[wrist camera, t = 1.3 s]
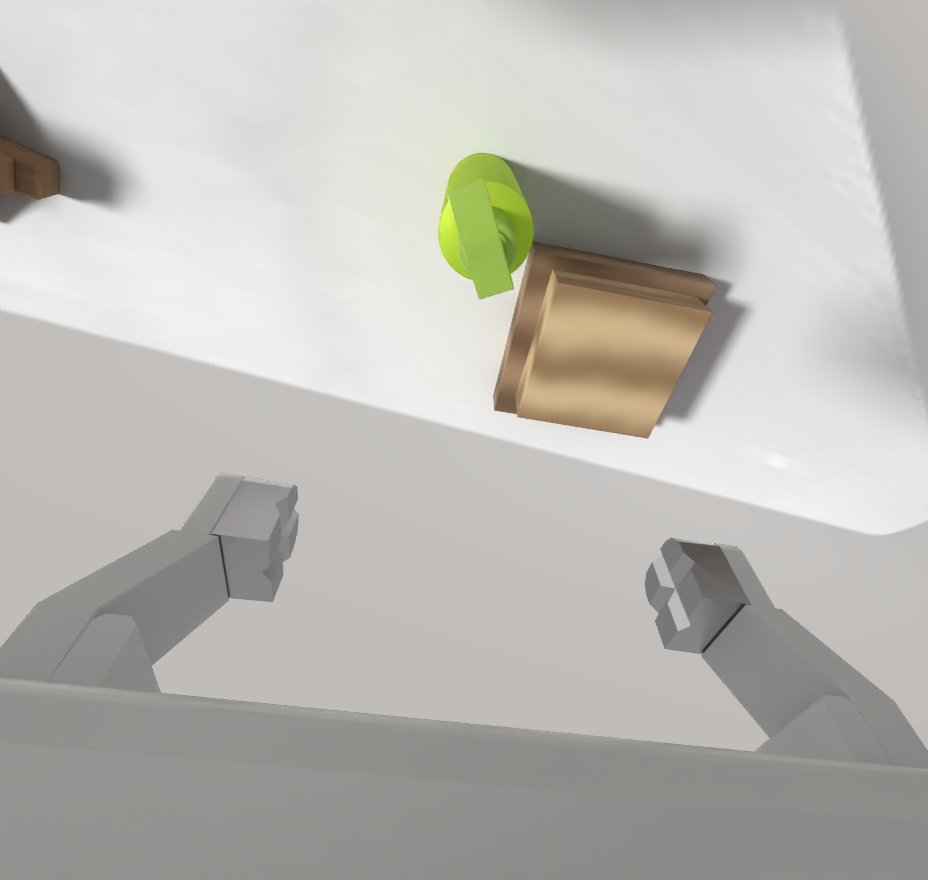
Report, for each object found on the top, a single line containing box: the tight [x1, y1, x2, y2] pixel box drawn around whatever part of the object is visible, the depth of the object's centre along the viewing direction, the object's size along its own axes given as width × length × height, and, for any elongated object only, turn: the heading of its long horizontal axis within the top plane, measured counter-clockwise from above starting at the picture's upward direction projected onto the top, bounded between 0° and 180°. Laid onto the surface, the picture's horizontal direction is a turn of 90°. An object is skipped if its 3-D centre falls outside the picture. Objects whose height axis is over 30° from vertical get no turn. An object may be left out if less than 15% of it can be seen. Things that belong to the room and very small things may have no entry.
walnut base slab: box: [493, 242, 716, 414], centre depth 48 cm, size 16×16×4 cm
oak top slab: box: [515, 269, 712, 438], centre depth 45 cm, size 13×13×4 cm
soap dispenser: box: [438, 153, 534, 299], centre depth 32 cm, size 6×7×20 cm
